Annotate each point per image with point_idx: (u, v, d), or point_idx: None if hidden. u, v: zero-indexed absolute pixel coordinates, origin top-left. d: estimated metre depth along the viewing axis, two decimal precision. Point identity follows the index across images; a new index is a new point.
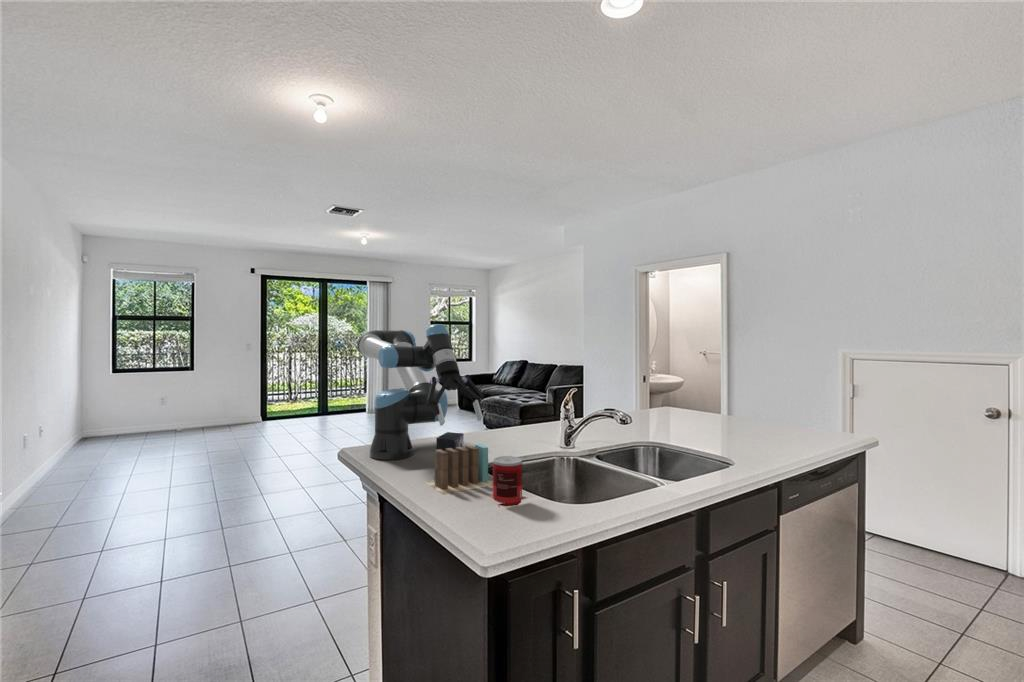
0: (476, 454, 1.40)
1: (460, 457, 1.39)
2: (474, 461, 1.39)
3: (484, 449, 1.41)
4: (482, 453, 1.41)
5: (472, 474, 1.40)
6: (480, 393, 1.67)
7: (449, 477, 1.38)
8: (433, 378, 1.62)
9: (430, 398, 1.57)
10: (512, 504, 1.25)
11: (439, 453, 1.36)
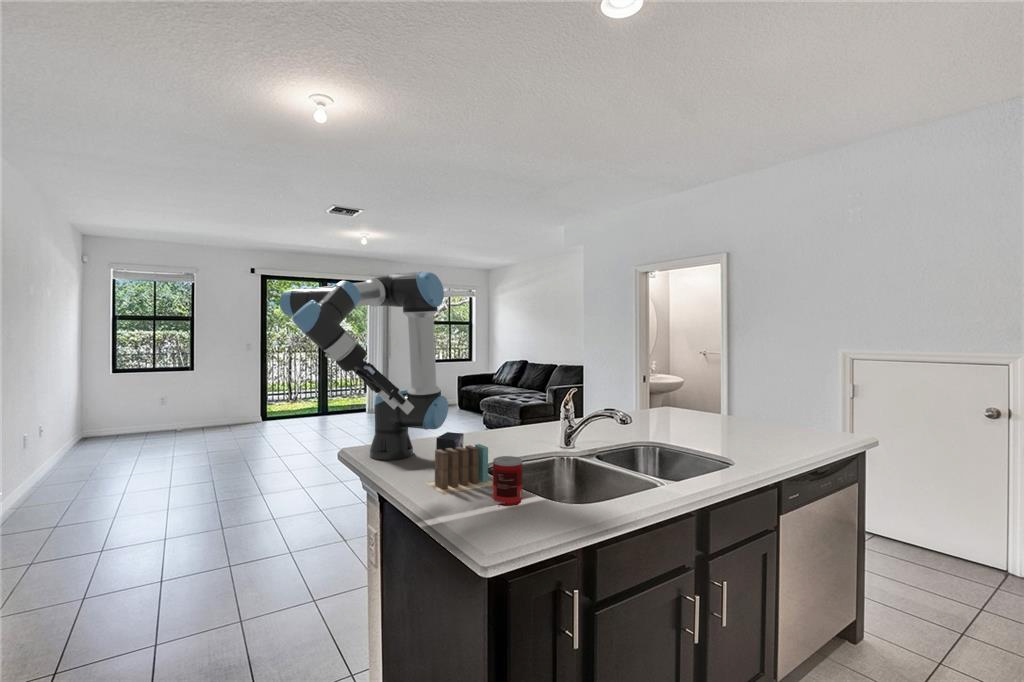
0: (476, 454, 1.40)
1: (460, 457, 1.39)
2: (474, 461, 1.39)
3: (484, 449, 1.41)
4: (482, 453, 1.41)
5: (472, 474, 1.40)
6: (388, 392, 1.26)
7: (449, 477, 1.38)
8: (352, 370, 1.35)
9: (370, 388, 1.39)
10: (512, 504, 1.25)
11: (439, 453, 1.36)
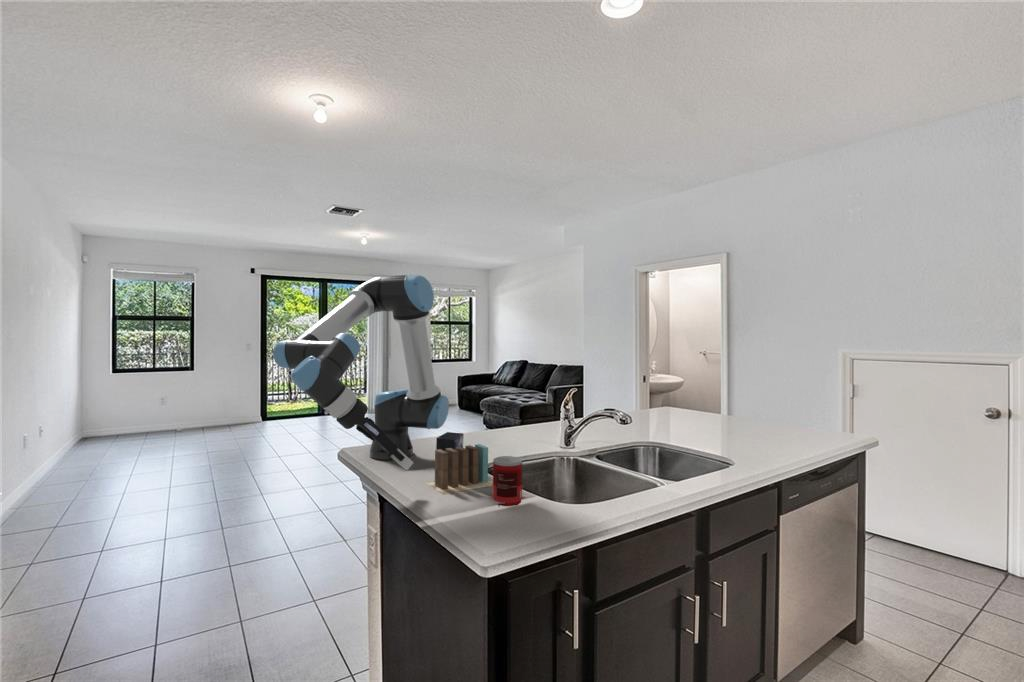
0: (476, 454, 1.40)
1: (460, 457, 1.39)
2: (474, 461, 1.39)
3: (484, 449, 1.41)
4: (482, 453, 1.41)
5: (472, 474, 1.40)
6: (387, 451, 1.25)
7: (449, 477, 1.38)
8: None
9: (380, 447, 1.31)
10: (512, 504, 1.25)
11: (439, 453, 1.36)
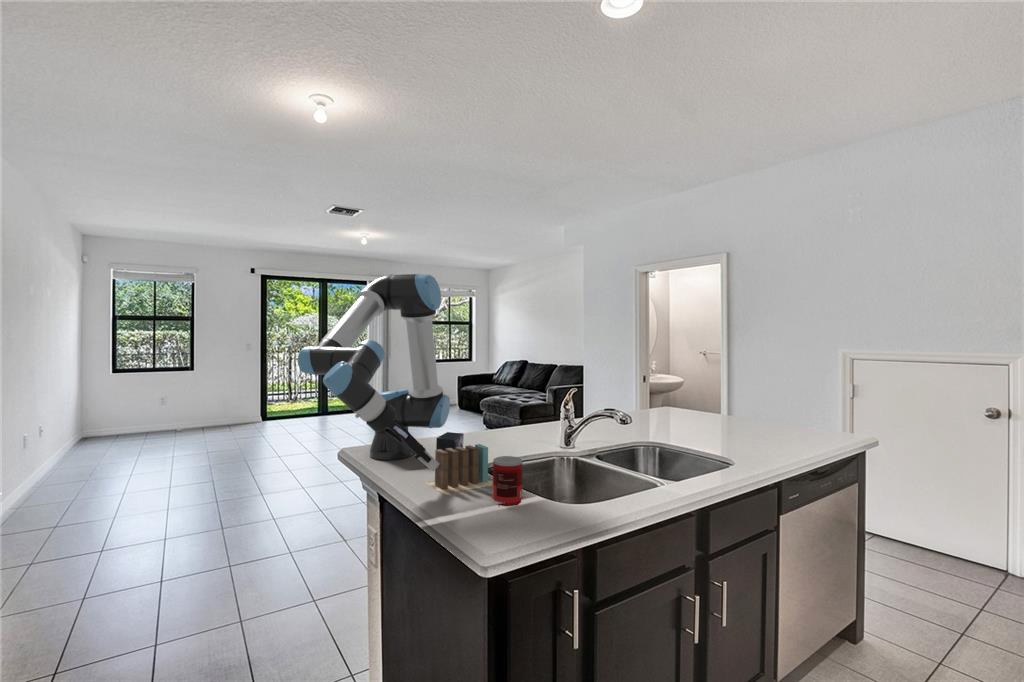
0: (476, 454, 1.40)
1: (460, 457, 1.39)
2: (474, 461, 1.39)
3: (484, 449, 1.41)
4: (482, 453, 1.41)
5: (472, 474, 1.40)
6: (415, 453, 1.28)
7: (449, 477, 1.38)
8: None
9: (407, 449, 1.34)
10: (512, 504, 1.25)
11: (439, 453, 1.36)
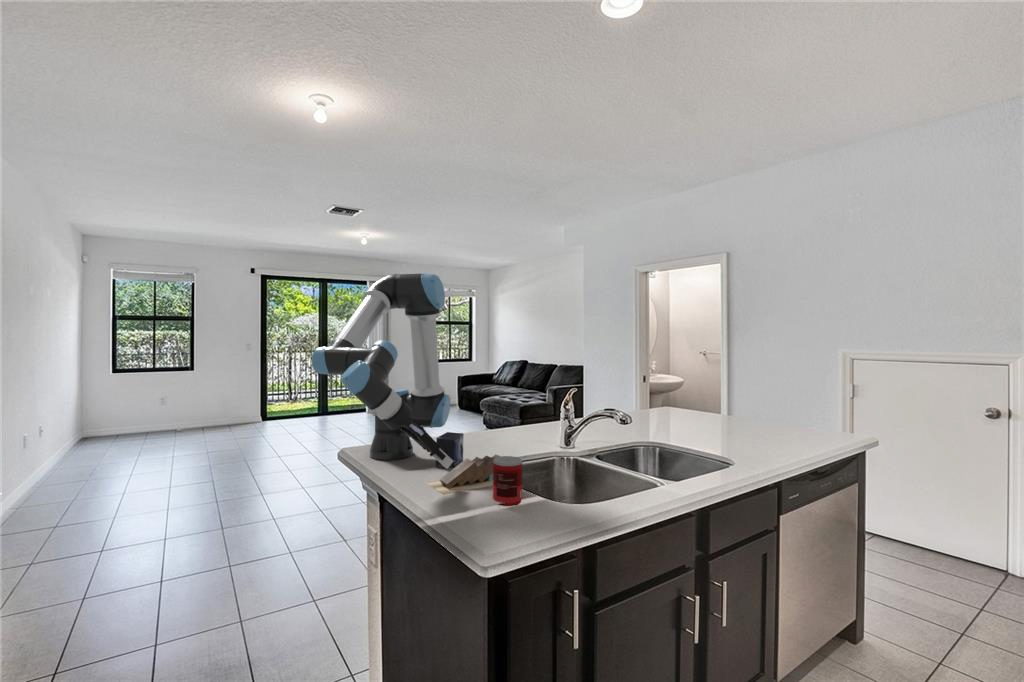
0: None
1: None
2: None
3: None
4: None
5: None
6: (430, 450, 1.31)
7: None
8: (400, 428, 1.36)
9: (421, 446, 1.37)
10: (512, 504, 1.25)
11: (470, 461, 1.41)
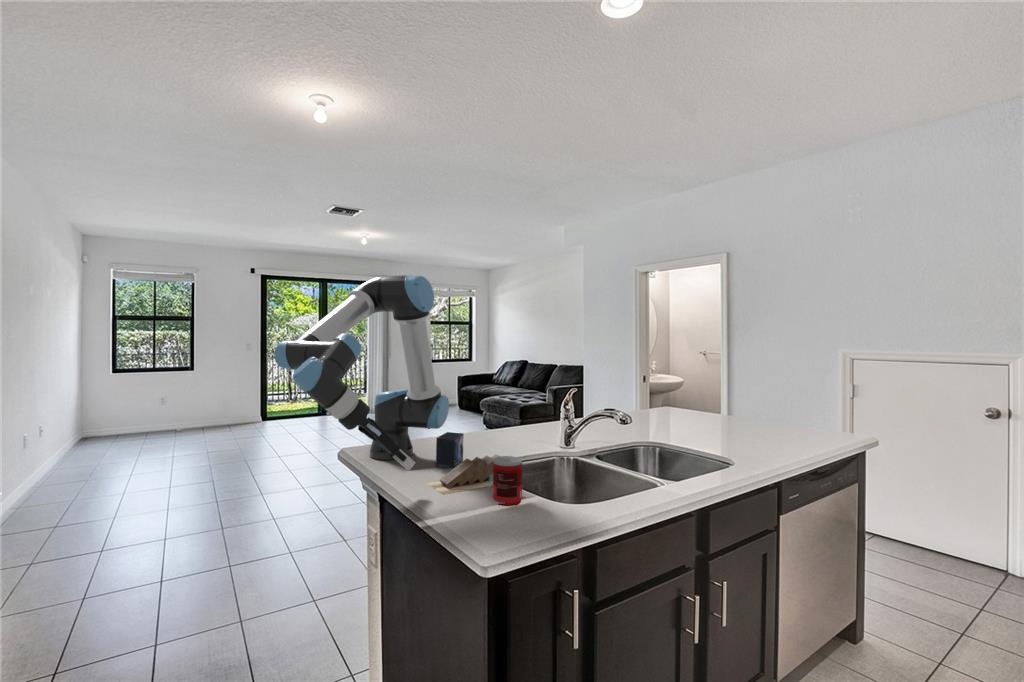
0: None
1: None
2: None
3: None
4: None
5: None
6: (389, 451, 1.25)
7: None
8: None
9: (382, 447, 1.31)
10: (512, 504, 1.25)
11: (470, 461, 1.41)
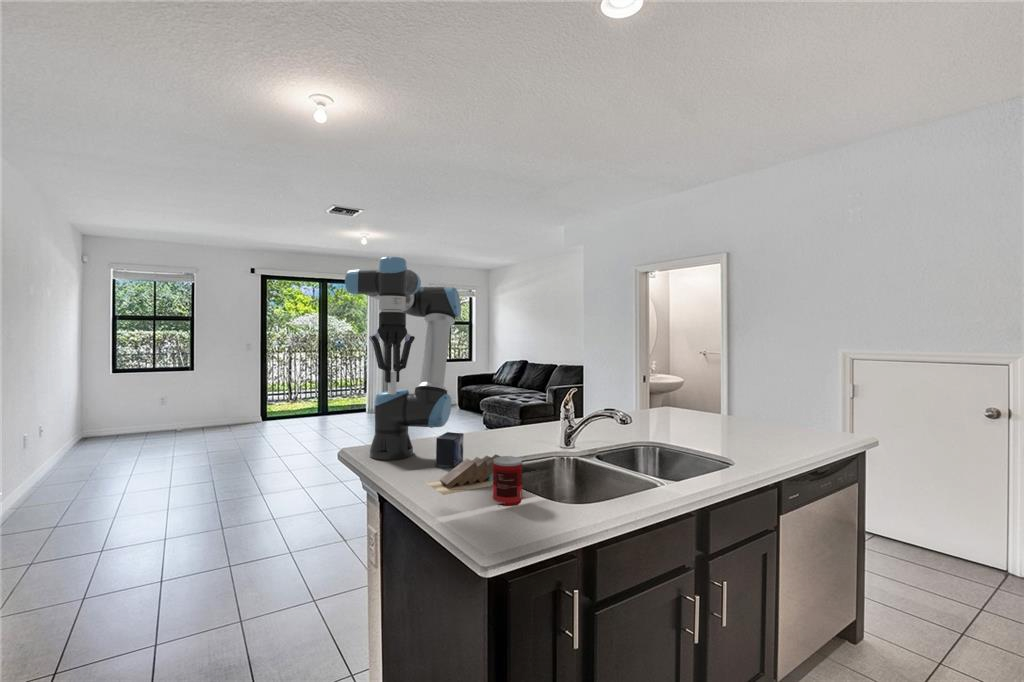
0: None
1: None
2: None
3: None
4: None
5: None
6: (404, 362, 1.41)
7: None
8: (373, 338, 1.36)
9: (382, 364, 1.38)
10: (512, 504, 1.25)
11: (470, 461, 1.41)
